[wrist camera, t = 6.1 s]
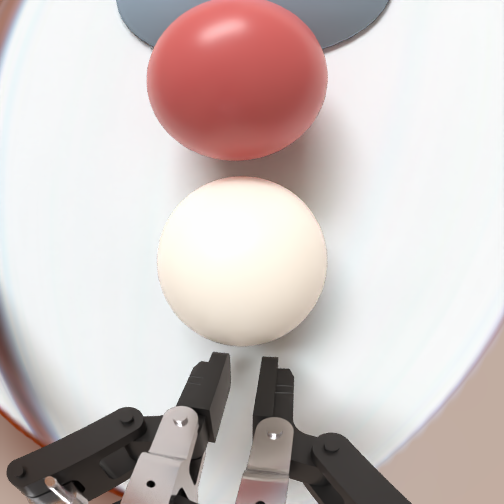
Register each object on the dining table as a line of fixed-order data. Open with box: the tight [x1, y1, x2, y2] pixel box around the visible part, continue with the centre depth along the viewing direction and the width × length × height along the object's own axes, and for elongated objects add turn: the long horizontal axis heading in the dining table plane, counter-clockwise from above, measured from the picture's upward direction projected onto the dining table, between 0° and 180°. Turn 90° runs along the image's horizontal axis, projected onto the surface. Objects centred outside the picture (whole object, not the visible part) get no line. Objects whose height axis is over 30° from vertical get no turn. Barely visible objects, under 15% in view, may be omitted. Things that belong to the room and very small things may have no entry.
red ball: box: [147, 0, 328, 161], centre depth 8 cm, size 6×6×6 cm
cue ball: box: [157, 176, 327, 346], centre depth 9 cm, size 6×6×6 cm
